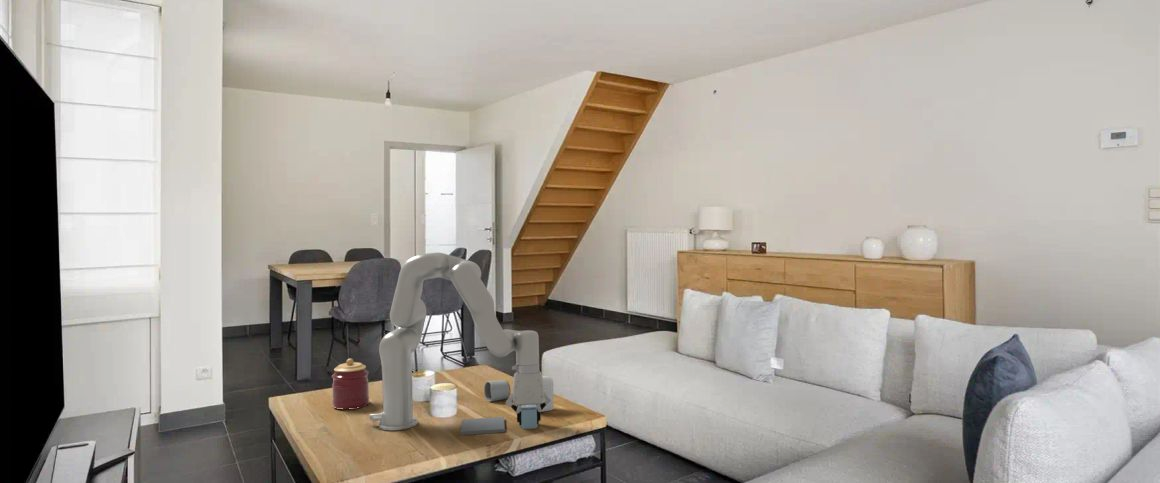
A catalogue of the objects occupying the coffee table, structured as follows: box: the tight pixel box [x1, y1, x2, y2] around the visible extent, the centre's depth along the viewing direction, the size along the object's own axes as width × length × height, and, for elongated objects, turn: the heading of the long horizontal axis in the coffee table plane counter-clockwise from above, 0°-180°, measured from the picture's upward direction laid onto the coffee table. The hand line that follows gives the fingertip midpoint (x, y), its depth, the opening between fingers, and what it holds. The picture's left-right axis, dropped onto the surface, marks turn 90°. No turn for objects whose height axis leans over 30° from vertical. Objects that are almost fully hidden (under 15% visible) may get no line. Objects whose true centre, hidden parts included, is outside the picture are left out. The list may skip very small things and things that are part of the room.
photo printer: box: [525, 375, 554, 413], centre depth 222 cm, size 10×4×12 cm, turn 123°
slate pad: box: [459, 416, 506, 436], centre depth 206 cm, size 14×13×1 cm
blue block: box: [520, 405, 538, 430], centre depth 206 cm, size 5×5×6 cm
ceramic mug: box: [483, 379, 511, 403], centre depth 239 cm, size 11×8×8 cm
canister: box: [331, 358, 370, 409], centre depth 234 cm, size 13×13×18 cm
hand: (528, 423), depth 206 cm, fingers closed on blue block, 5 cm apart
